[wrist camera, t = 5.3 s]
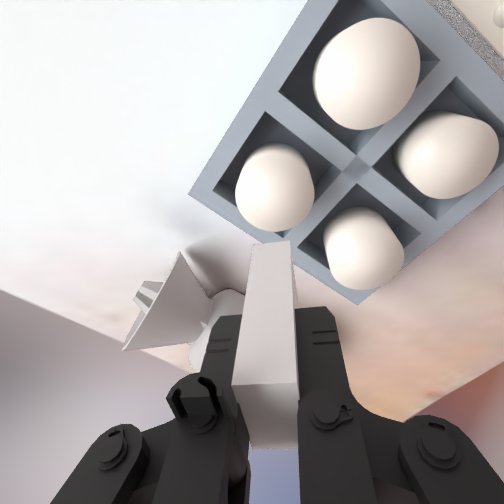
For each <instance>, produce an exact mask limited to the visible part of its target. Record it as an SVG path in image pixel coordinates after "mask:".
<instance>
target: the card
mask: <svg viewBox="0 0 504 504" xmlns="http://www.w3.org/2000/svg"><path fill="white" fill-rule="evenodd" d="M448 1H449V2H450V3H451V4H452V5H453V6H454V7H455V9H456V10H457V11H458V12H459V13H460V14H461V15H462V16H463V17H464V18H465V19H466V20H467V22H468V23H469V24H470V25H471V26H472V27H473V28H474V29H475V30H476V31H477V32H478V33H479V34H480V36H481V37H482V38H483V39H484V40H485V41H486V42H487V43H488V44H489V45H490V46H491V47H492V49H493V50H494V51H495V52H496V53H497V54H498V55H499V56H500V57H501V58H502V59H504V0H448Z"/></svg>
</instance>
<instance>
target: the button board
mask: <svg viewBox="0 0 504 504" xmlns="http://www.w3.org/2000/svg"><path fill="white" fill-rule="evenodd" d="M370 18H387V19H391V20H394V21H396V22H398V23H400V24H402V25H403V26H404V27H405V28H407V29H408V31H409V32H410V33H411V34H412V36H413V37H414V39H415V41H416V44H417V46H418V50H419V54H420V72H419V78H418V81H417V85H416V87H415V90H414V92H413V94H412V96H411V98H410V99H409V101H408V102H407V104H406V105H405V106H404V108H403V109H402V110H401V111H400V112H399V113H398V114H397V115H396V116H394V117H393V118H392V119H391V120H389V121H388V122H386V123H384V124H382V125H380V126H377V127H375V128H371V129H365V130H355V129H349V128H346V127H344V126H342V125H340V124H338V123H337V122H335V121H334V120H333V119H332V118H331V117H330V116H329V115H328V114H327V113H326V112H325V111H324V110H323V109H322V108H321V106H320V105H319V104H318V102H317V100H316V98H315V95H314V91H313V85H312V76H313V70H314V65H315V63H316V60H317V58H318V55H319V54H320V52H321V50H322V49H323V47H324V46H325V45H326V44H327V42H328V41H329V40H330V39H332V38H333V37H334V36H335V35H337V34H338V33H340V32H341V31H343V30H345V29H347V28H349V27H350V26H352V25H354V24H356V23H358V22H360V21H363V20H366V19H370ZM434 110H444V111H448V112H452V113H456V114H460V115H463V116H467V117H471V118H474V119H478V120H481V121H483V122H485V123H487V124H488V125H489V126H491V127H492V129H493V130H494V131H495V133H496V135H497V138H498V142H499V152H498V157H497V160H496V163H495V165H494V167H493V169H492V170H491V172H490V173H489V175H488V176H487V177H486V178H485V179H484V180H483V181H482V182H481V183H480V184H479V185H478V186H477V187H475V188H474V189H472V190H471V191H469V192H467V193H465V194H463V195H461V196H458V197H454V198H449V199H436V198H432V197H429V196H427V195H424V194H423V193H422V192H420V191H419V190H418V189H417V188H416V187H415V186H414V185H413V184H411V183H410V182H409V181H408V180H407V179H406V178H405V177H404V176H403V175H401V174H400V173H399V172H398V170H397V169H396V167H395V165H394V162H393V147H394V144H395V141H396V140H397V139H398V138H399V137H400V136H401V135H402V134H403V133H404V131H405V130H406V129H407V128H408V127H409V126H410V125H411V124H412V123H413V122H414V121H415V120H416V119H417V117H418V116H419V115H421V114H423V113H426V112H429V111H434ZM269 143H283V144H287V145H290V146H292V147H294V148H295V149H297V150H298V151H299V152H300V153H301V154H302V155H303V157H304V158H305V160H306V162H307V164H308V168H309V171H310V175H311V178H312V182H313V186H314V202H313V205H312V208H311V210H310V212H309V214H308V215H307V216H306V218H305V219H304V220H303V221H302V222H300V223H299V224H298V225H296V226H295V227H293V228H290V229H288V230H284V231H278V232H271V231H265V230H261V229H259V228H256V227H255V226H253V225H251V224H250V223H249V222H248V221H247V220H245V218H244V217H243V216H242V215H241V213H240V211H239V209H238V207H237V204H236V198H235V190H236V185H237V182H238V179H239V176H240V174H241V171H242V168H243V166H244V163H245V161H246V159H247V158H248V156H249V155H250V154H251V153H252V152H253V151H254V150H256V149H257V148H259V147H260V146H263V145H265V144H269ZM502 186H504V81H503V80H502V79H501V78H500V77H499V76H498V75H497V74H496V73H495V72H494V71H493V69H492V68H491V67H490V66H489V65H488V64H487V63H486V62H485V61H484V60H483V59H482V58H481V57H480V56H479V55H478V54H477V53H476V52H475V50H474V49H473V48H472V47H471V46H470V45H469V44H468V43H467V42H466V41H465V40H464V39H463V38H462V37H461V36H460V35H459V34H458V33H457V31H456V30H455V29H454V28H453V27H452V26H451V25H450V24H449V23H448V22H447V21H446V20H445V19H444V18H443V17H442V16H441V15H440V14H439V12H438V11H437V10H436V9H435V8H434V7H433V6H432V5H431V4H430V3H429V2H428V1H427V0H308V1H307V3H306V4H305V6H304V8H303V9H302V11H301V12H300V14H299V16H298V17H297V19H296V21H295V22H294V24H293V25H292V27H291V29H290V30H289V32H288V33H287V35H286V37H285V38H284V40H283V41H282V43H281V45H280V46H279V48H278V50H277V51H276V53H275V54H274V56H273V58H272V59H271V61H270V62H269V64H268V66H267V67H266V69H265V71H264V72H263V74H262V75H261V77H260V79H259V80H258V82H257V83H256V85H255V87H254V88H253V90H252V92H251V93H250V95H249V96H248V98H247V100H246V101H245V103H244V104H243V106H242V108H241V109H240V111H239V112H238V114H237V116H236V117H235V119H234V121H233V122H232V124H231V125H230V127H229V129H228V130H227V132H226V133H225V135H224V137H223V138H222V140H221V142H220V143H219V145H218V146H217V148H216V150H215V151H214V153H213V154H212V156H211V158H210V159H209V161H208V162H207V164H206V166H205V167H204V169H203V171H202V172H201V174H200V175H199V177H198V179H197V180H196V182H195V183H194V185H193V187H192V188H191V190H190V192H189V193H188V195H190V196H191V197H193V198H194V199H196V200H197V201H199V202H200V203H202V204H203V205H205V206H206V207H208V208H209V209H211V210H212V211H214V212H215V213H217V214H219V215H220V216H222V217H223V218H225V219H226V220H228V221H229V222H231V223H232V224H234V225H235V226H237V227H238V228H240V229H241V230H243V231H244V232H246V233H248V234H249V235H251V236H252V237H254V238H255V239H257V240H258V241H260V242H261V243H263V244H264V243H273V242H281V241H290V246H291V253H292V261H293V264H295V265H296V266H298V267H299V268H301V269H302V270H304V271H306V272H307V273H309V274H310V275H312V276H313V277H315V278H316V279H318V280H319V281H321V282H322V283H324V284H325V285H327V286H328V287H330V288H331V289H333V290H334V291H336V292H338V293H339V294H341V295H342V296H344V297H345V298H347V299H348V300H350V301H351V302H353V303H354V304H356V305H359V304H360V303H361V302H362V301H364V300H365V299H366V298H367V297H368V296H370V295H371V294H372V293H373V292H375V291H376V290H377V289H378V288H379V287H377V288H374V289H369V290H355V289H351V288H347V287H345V286H343V285H341V284H340V283H339V282H337V281H336V280H335V278H334V277H333V275H332V273H331V271H330V267H329V263H328V259H327V255H326V251H325V246H324V242H323V233H324V229H325V227H326V225H327V223H328V222H329V221H330V219H331V218H332V217H333V216H334V215H336V214H337V213H339V212H340V211H342V210H345V209H347V208H351V207H368V208H371V209H373V210H375V211H377V212H378V213H379V214H381V215H382V217H383V218H384V219H385V221H386V222H387V224H388V225H389V227H390V228H391V230H392V231H393V233H394V234H395V236H396V237H397V239H398V240H399V241H400V243H401V245H402V247H403V250H404V262H403V265H402V267H401V269H403V268H404V267H405V266H406V265H407V264H409V263H410V262H411V261H412V260H413V259H415V258H416V257H417V256H418V255H420V254H421V253H422V252H423V251H424V250H426V249H427V248H428V247H429V246H431V245H432V244H433V243H434V242H435V241H437V240H438V239H439V238H440V237H441V236H443V235H444V234H445V233H446V232H448V231H449V230H450V229H451V228H452V227H454V226H455V225H456V224H457V223H459V222H460V221H461V220H462V219H463V218H465V217H466V216H467V215H468V214H469V213H471V212H472V211H473V210H474V209H476V208H477V207H478V206H479V205H480V204H482V203H483V202H484V201H485V200H487V199H488V198H489V197H490V196H491V195H493V194H494V193H495V192H496V191H497V190H499V189H500V188H501V187H502ZM401 269H400V270H401ZM380 287H381V286H380Z"/></svg>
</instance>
